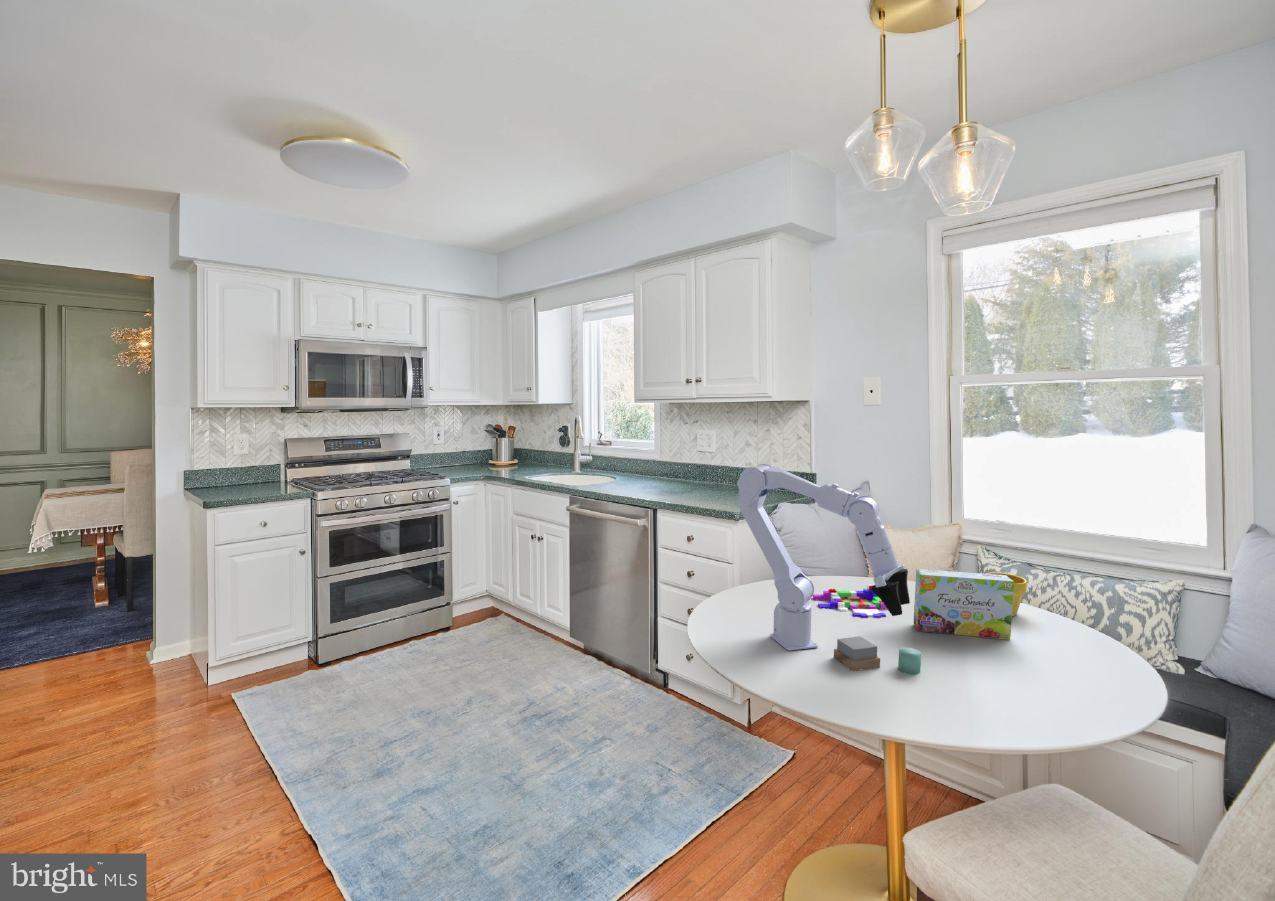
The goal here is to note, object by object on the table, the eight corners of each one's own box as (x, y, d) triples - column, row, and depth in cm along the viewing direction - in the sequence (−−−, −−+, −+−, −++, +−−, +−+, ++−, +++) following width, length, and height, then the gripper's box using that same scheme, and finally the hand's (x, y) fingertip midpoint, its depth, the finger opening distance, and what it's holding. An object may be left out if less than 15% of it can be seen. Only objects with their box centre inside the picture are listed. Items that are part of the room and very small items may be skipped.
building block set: (827, 619, 165) (828, 603, 165) (808, 594, 185) (808, 580, 185) (921, 620, 165) (922, 603, 164) (891, 595, 185) (892, 580, 185)
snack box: (917, 632, 155) (920, 573, 153) (913, 624, 160) (915, 567, 159) (1011, 640, 150) (1015, 580, 148) (1003, 632, 155) (1007, 573, 154)
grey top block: (837, 649, 139) (837, 638, 139) (859, 646, 141) (860, 636, 140) (853, 660, 133) (853, 649, 133) (876, 657, 135) (877, 646, 135)
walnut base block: (833, 659, 140) (833, 648, 139) (860, 656, 141) (860, 645, 141) (851, 672, 133) (852, 661, 133) (879, 669, 135) (880, 658, 134)
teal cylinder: (893, 666, 135) (894, 648, 135) (910, 664, 136) (911, 646, 136) (907, 675, 131) (908, 657, 131) (924, 672, 132) (925, 654, 132)
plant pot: (1018, 622, 162) (1020, 585, 161) (975, 611, 169) (977, 577, 168) (1030, 612, 169) (1032, 577, 168) (988, 603, 176) (990, 570, 175)
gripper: (888, 553, 128) (912, 616, 127) (903, 538, 140) (926, 595, 138) (856, 561, 132) (879, 622, 131) (873, 545, 144) (895, 601, 142)
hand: (901, 609), depth 135 cm, fingers open, 7 cm apart
